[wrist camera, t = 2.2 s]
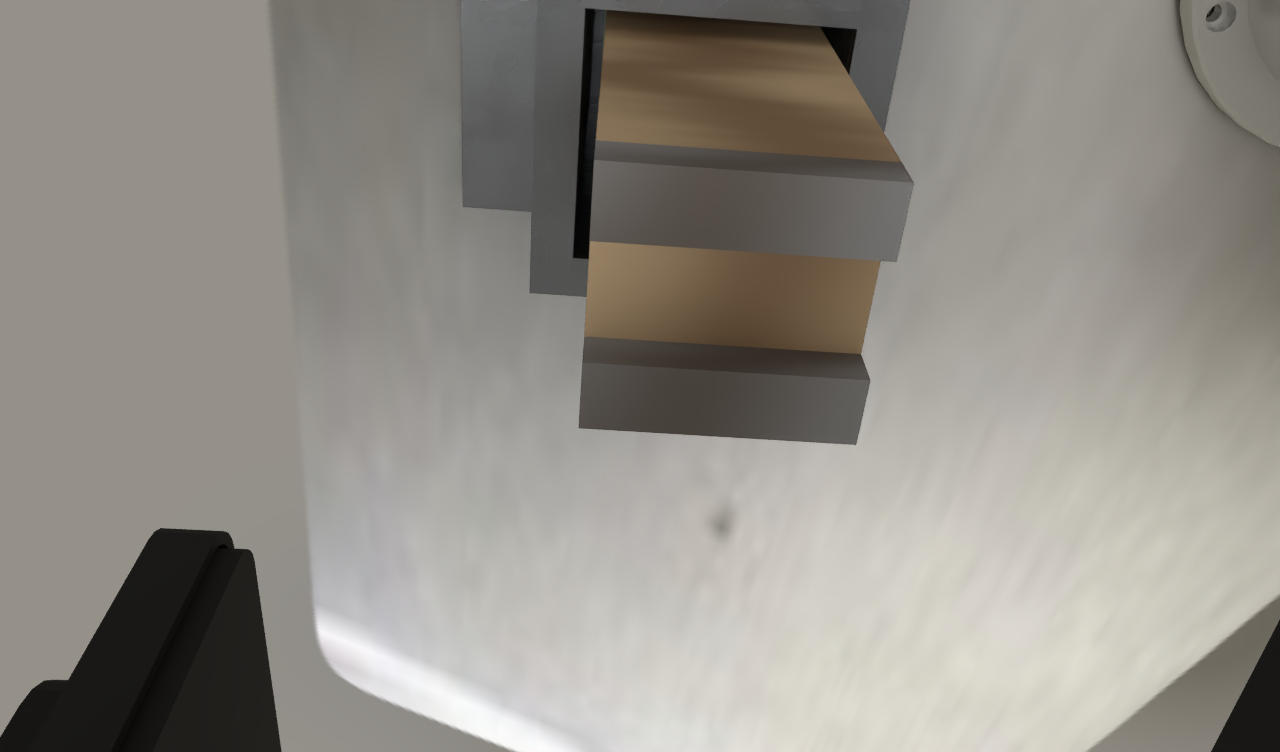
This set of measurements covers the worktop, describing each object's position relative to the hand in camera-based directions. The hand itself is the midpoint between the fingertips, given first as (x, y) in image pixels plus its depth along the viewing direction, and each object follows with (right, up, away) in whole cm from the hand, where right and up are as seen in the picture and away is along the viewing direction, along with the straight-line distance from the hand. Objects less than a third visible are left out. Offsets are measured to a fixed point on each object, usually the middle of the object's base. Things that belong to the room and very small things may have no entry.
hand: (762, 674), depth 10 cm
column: (0, +13, +22) cm, 25 cm away
